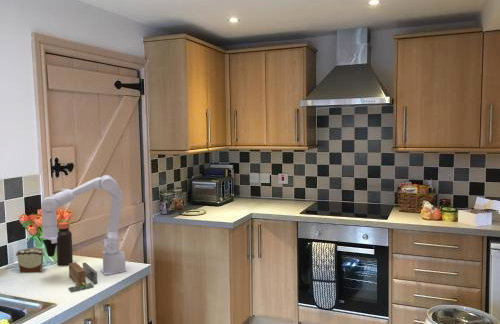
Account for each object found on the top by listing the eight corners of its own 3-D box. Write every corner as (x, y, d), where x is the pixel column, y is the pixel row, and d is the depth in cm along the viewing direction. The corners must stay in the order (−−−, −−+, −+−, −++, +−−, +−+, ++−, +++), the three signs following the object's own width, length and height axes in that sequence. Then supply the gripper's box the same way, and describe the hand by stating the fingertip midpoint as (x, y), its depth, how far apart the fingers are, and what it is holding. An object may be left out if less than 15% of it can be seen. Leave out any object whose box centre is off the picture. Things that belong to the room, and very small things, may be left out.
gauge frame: (85, 273, 193) (85, 262, 192) (99, 286, 178) (99, 274, 177) (58, 278, 186) (58, 267, 185) (71, 292, 171) (70, 280, 170)
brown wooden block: (76, 275, 189) (75, 262, 189) (88, 287, 176) (88, 273, 175) (69, 276, 188) (68, 263, 187) (81, 288, 174) (80, 274, 173)
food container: (50, 268, 199) (49, 247, 198) (44, 272, 193) (43, 251, 192) (23, 268, 199) (22, 247, 198) (16, 273, 193) (15, 251, 192)
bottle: (54, 264, 204) (52, 223, 202) (66, 260, 210) (65, 221, 208) (63, 267, 201) (61, 225, 199) (75, 263, 206) (74, 222, 205)
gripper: (35, 223, 186) (37, 253, 187) (43, 229, 175) (44, 262, 176) (53, 221, 191) (54, 250, 192) (61, 227, 179) (62, 258, 180)
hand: (51, 256), depth 184 cm, fingers closed
